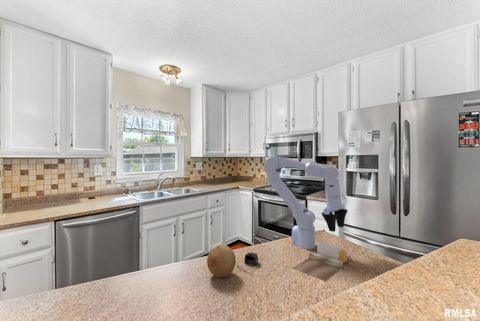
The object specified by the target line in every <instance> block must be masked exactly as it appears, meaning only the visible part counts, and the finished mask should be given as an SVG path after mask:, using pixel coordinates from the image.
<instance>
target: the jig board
mask: <svg viewBox="0 0 480 321" xmlns="http://www.w3.org/2000/svg"><path fill="white" fill-rule="evenodd" d="M352 260H353V258H352V255H351V254H348V253H347V260H346V261H345V262H344V263H343V262H342V261H339V260H335V259H332V258H329V257H326V256H322V255H319V254H317V252H316V253H315V252H312V251H310V252H308V258H307V259H305V260H303V261H301V262H300V263H298V264H296V265H295V266H292V269H294V270H295V271H298V272H301V273H304V274H306V275H308V276H311V277H313V278H316V279H319V280H321V281H324V282H327V281H329V280H330V278H332V277H333V276H334V275H335V274H337V273H338V272H339V271H340V270H341V269H343V268H344V267H345V266H346V265H348V263H350V262H351V261H352Z"/></svg>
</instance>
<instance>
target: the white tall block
mask: <svg viewBox="0 0 480 321" xmlns="http://www.w3.org/2000/svg"><path fill="white" fill-rule="evenodd" d="M316 246H317V247H316V253H317V254H319V255H322V256H326V257H329V258H332V259H335V260H339V261H342V262H343V263H344V262H345V261H346V260H347V254H348V251H347V250H344V247H343V246H340V245H336V244H332V243H328V242H325V241H321V242H319V243H316Z"/></svg>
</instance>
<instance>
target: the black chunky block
mask: <svg viewBox="0 0 480 321" xmlns="http://www.w3.org/2000/svg"><path fill="white" fill-rule="evenodd" d="M243 260H244V264H247V263H248V261H249V262H252V263H254V266H256V265H257V264H258V263H259V256H258V253H254V252H247V253H246V254H245V255H244V259H243ZM237 267H239V268H240V266H239V265H237Z"/></svg>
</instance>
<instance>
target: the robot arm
mask: <svg viewBox="0 0 480 321" xmlns="http://www.w3.org/2000/svg"><path fill="white" fill-rule="evenodd" d="M264 160H265V161H264V164H263V168H264V170H265V173H266V175H265V176H266V179H267V181H268V183H269V184H270V185H271V187H272V188H273V189H274V191H276V193H277V194H278V195H279V196H280V198H281V199H282V200H283V202H284V203H285V204H286V206H287V207H288V208H289V209H290V211H291V212H292V216H293V218H294V219H295V222H296V225H294V226H293V227H292V230H291V245H292V246H296V247H298V248H300V249H305V250H313V249H315V248H316V236H315V235H316V230H315V228H316V227H315V225H314V223H315V222H316V215H315V213H314V212H313V211H312V210H309V209H308V208H307V207H306V206H305V205H303V204H302V203H301V202H300V201H299V199H298V198H297V196H295V195H294V194H293V192H292V191H291V190H290V189H289V188H288V186H287V185H286V184H285V182H284V181H283V180H282V179H281V171H282V169H283V168H285V167H290V168H293V169H294V168H295V169H297V170H301V171H305V174H306V175H308V176H309V175H310V176H312V177H316V178H320V179H322V178H323V179H324V190H325V200H326V207H324V209H323V212H322V213H321V217H323V219H324V220H325V222H326V226H327V229H328V231H329V232H334V233H335V232H336V230H337V229H336V226H337V227H338V228H344V226H345V219H346V217H347V216H346V215H347V214H348V209H346V205H345V204H344V203H343V202H342V194H341V184H340V179H339V176H340V172H339V169H338V168H336V167H334V166H332V165H331V166H329V165H328V164H327V163H326V164H322V163H317V161H316V160H312V161H308V162H307V163H306V162H302V161H298V160H296V159H293V158H290V157H281V156H268V157H267V158H266V159H264Z"/></svg>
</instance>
